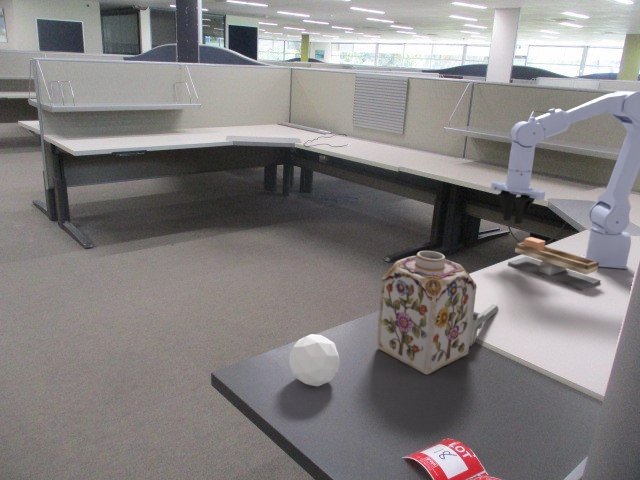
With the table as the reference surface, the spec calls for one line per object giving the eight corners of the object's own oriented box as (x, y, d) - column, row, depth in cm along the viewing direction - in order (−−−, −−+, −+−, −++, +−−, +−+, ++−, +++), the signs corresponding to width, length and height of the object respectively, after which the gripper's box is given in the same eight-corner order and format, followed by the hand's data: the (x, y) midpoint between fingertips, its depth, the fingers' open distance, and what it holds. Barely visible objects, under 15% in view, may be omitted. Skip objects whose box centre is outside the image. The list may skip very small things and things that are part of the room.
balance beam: (507, 264, 138) (510, 244, 136) (526, 259, 143) (529, 239, 141) (582, 290, 123) (586, 267, 121) (600, 283, 127) (604, 261, 126)
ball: (326, 395, 84) (358, 364, 81) (291, 397, 79) (324, 365, 75) (305, 355, 89) (335, 325, 86) (271, 355, 83) (301, 322, 80)
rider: (522, 248, 137) (524, 238, 136) (529, 246, 138) (531, 237, 138) (536, 252, 134) (538, 242, 133) (543, 250, 135) (545, 241, 135)
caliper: (471, 349, 95) (475, 317, 93) (465, 347, 96) (469, 315, 94) (498, 309, 112) (502, 281, 110) (493, 308, 112) (496, 280, 111)
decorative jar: (374, 348, 94) (380, 251, 88) (417, 330, 101) (425, 239, 96) (428, 377, 85) (438, 272, 80) (470, 355, 92) (483, 257, 87)
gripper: (486, 166, 139) (480, 217, 143) (536, 176, 128) (528, 230, 132) (503, 164, 143) (496, 214, 147) (552, 173, 132) (544, 226, 136)
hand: (512, 221), depth 140 cm, fingers open, 3 cm apart
